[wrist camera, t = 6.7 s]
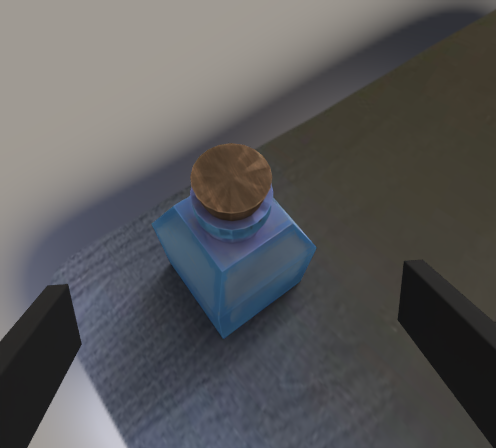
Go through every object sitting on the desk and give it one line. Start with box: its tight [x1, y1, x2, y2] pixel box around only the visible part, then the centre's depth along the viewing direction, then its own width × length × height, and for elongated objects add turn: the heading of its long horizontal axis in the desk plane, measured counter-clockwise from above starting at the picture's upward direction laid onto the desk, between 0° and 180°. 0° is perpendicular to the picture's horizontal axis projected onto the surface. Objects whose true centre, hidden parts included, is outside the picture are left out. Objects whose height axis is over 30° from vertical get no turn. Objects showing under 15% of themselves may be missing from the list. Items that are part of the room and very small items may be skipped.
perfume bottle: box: [152, 143, 317, 339], centre depth 21 cm, size 6×6×12 cm
